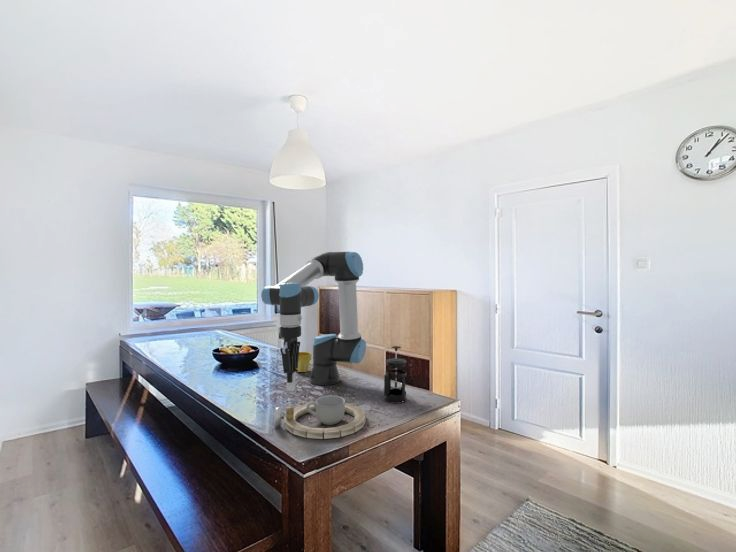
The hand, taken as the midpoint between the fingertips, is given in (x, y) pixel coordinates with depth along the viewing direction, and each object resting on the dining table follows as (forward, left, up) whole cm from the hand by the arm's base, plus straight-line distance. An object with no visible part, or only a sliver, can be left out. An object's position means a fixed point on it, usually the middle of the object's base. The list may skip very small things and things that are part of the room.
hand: (291, 390), depth 136 cm
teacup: (-4, +12, -12) cm, 18 cm away
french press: (-33, +34, -12) cm, 49 cm away
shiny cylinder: (+5, -3, -12) cm, 13 cm away
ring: (-4, +12, -12) cm, 17 cm away
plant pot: (-68, -22, -12) cm, 72 cm away
